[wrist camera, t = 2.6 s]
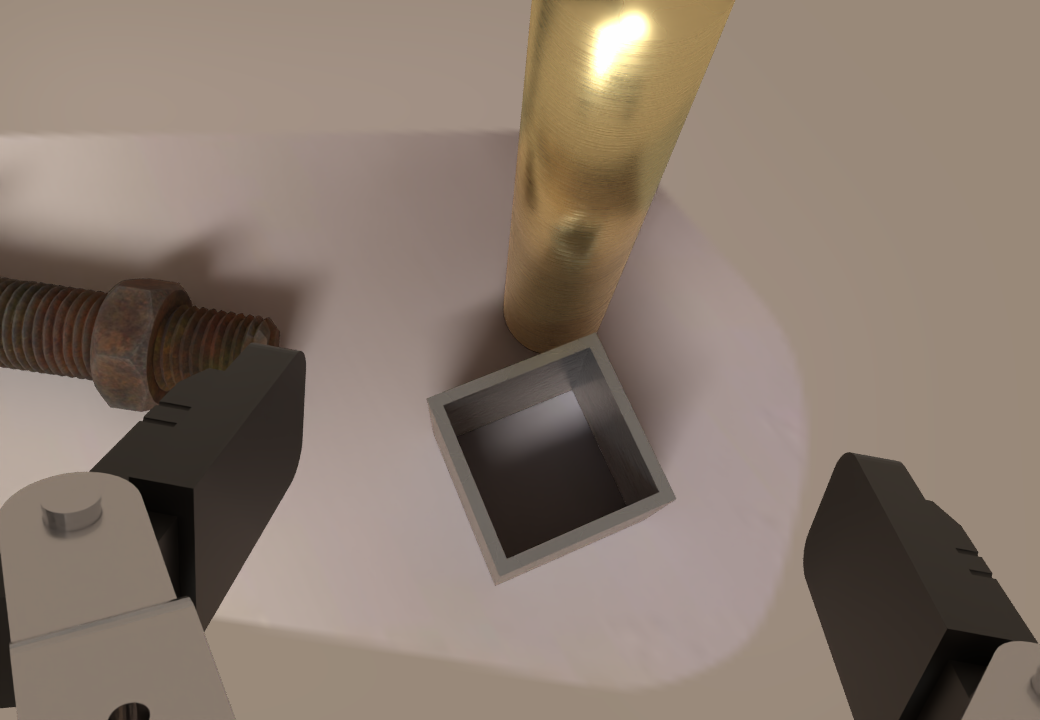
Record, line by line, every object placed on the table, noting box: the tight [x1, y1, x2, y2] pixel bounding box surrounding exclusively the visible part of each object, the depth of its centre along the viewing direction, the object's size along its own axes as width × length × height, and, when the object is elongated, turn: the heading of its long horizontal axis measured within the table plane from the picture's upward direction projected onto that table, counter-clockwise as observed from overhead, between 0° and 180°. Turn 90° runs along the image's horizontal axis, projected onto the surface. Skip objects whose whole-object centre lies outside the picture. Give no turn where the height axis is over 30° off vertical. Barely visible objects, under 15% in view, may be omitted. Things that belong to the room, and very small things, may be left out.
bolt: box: [0, 277, 280, 412], centre depth 29 cm, size 6×5×15 cm
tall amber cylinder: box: [503, 0, 735, 354], centre depth 24 cm, size 4×4×18 cm
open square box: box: [427, 332, 676, 586], centre depth 28 cm, size 6×6×5 cm
